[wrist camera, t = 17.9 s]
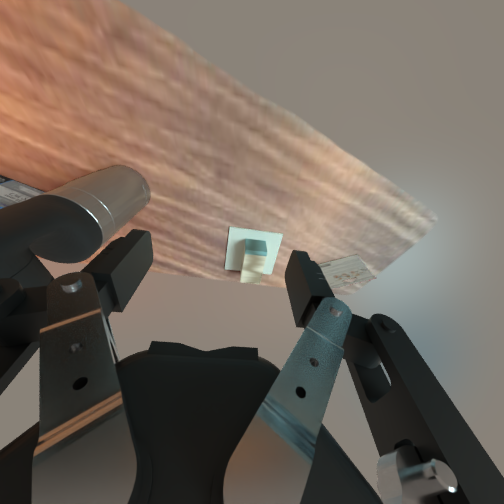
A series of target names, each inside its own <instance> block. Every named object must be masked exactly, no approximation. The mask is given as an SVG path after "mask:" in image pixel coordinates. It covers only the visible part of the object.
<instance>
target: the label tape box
mask: <svg viewBox="0 0 504 504" xmlns="http://www.w3.org/2000/svg"><path fill="white" fill-rule="evenodd" d="M43 193H46V192H43V191H41V190H38V189H35V188H33V187H30V186H28V185H25V184H22V183H20V182H17V181H15V180H12V179H9V178H7V177H4V176H2V175H0V209H1V208H4V207H7V206H10V205H13V204H16V203H19V202H22V201H25V200H28V199H30V198H33V197H35V196H38V195H40V194H43Z"/></svg>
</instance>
